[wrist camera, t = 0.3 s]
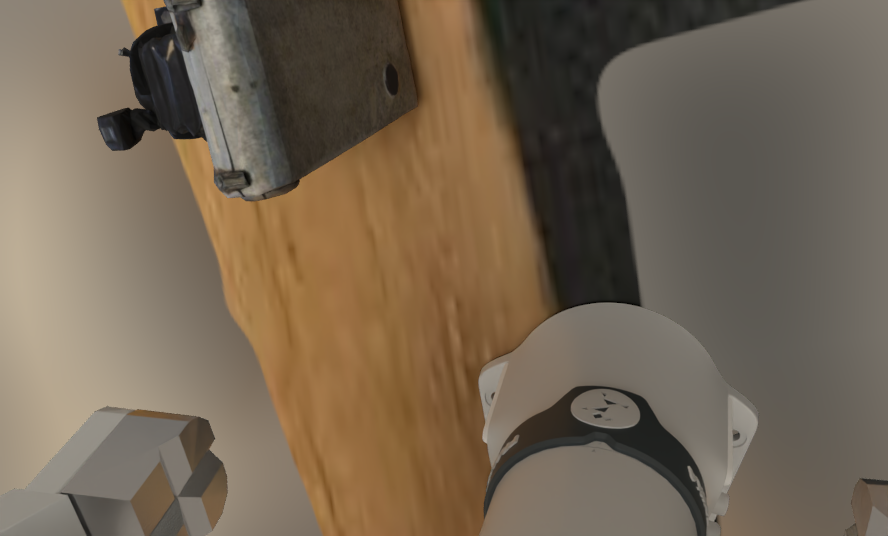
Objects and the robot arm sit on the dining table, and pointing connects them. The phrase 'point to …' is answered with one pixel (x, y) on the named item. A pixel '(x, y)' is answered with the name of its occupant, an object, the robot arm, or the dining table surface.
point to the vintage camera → (267, 84)
